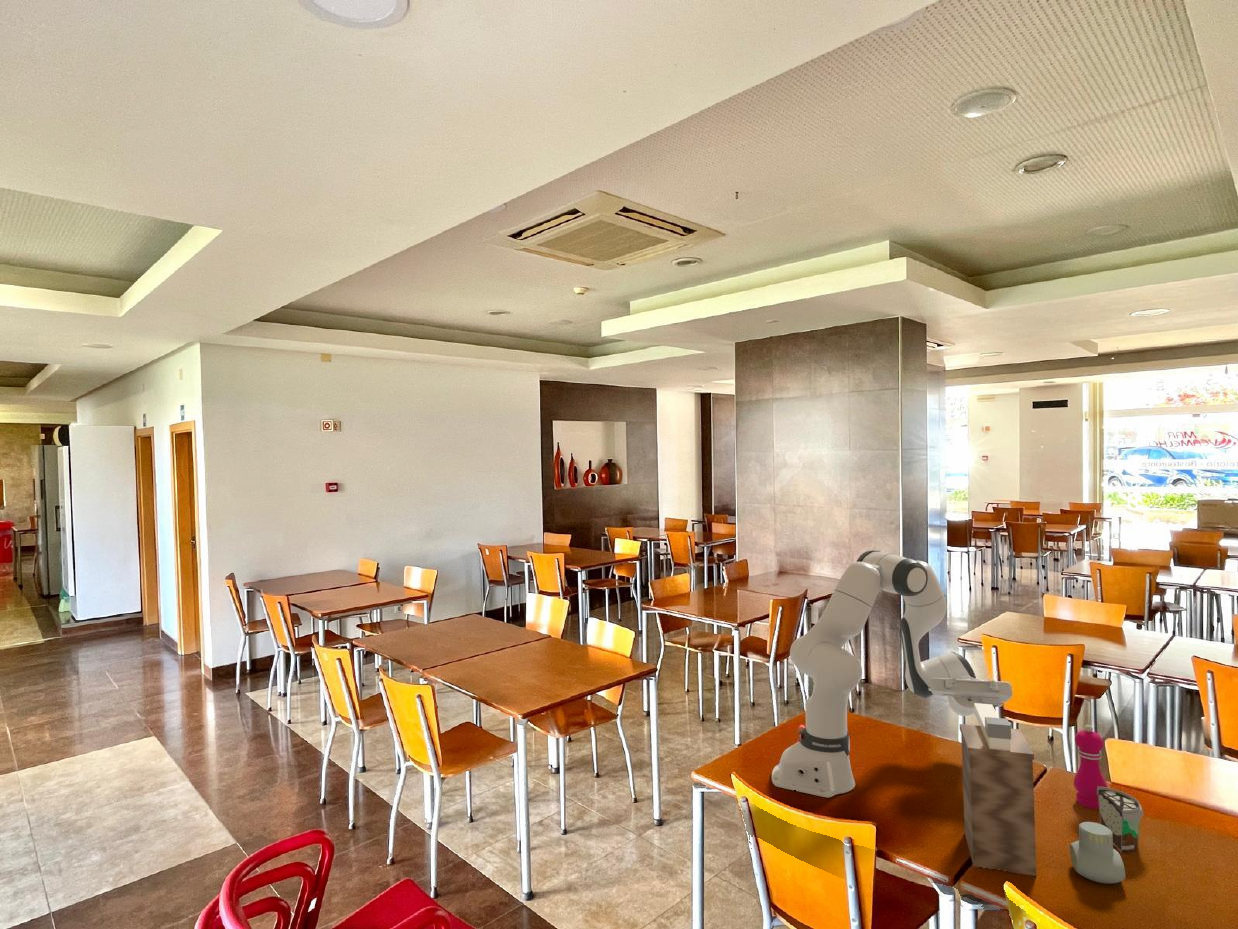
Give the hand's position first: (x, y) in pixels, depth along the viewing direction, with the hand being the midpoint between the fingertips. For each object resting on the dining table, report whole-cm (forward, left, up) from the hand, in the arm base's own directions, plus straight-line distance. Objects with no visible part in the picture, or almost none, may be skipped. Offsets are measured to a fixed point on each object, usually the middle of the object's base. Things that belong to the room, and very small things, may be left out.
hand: (972, 682), depth 184 cm
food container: (+28, -19, -29) cm, 45 cm away
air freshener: (+18, -35, -29) cm, 49 cm away
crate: (0, -32, -29) cm, 43 cm away
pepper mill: (+26, -1, -29) cm, 39 cm away
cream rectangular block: (0, -28, -3) cm, 28 cm away
